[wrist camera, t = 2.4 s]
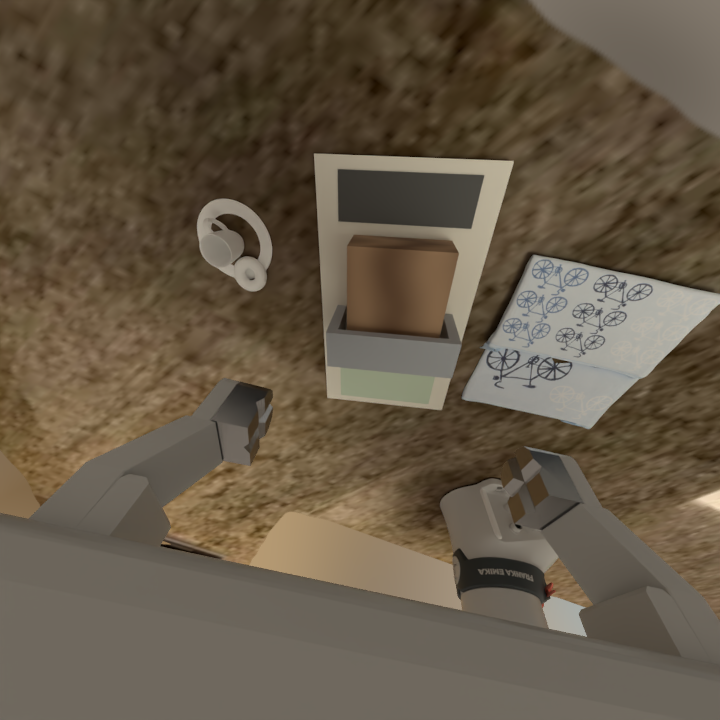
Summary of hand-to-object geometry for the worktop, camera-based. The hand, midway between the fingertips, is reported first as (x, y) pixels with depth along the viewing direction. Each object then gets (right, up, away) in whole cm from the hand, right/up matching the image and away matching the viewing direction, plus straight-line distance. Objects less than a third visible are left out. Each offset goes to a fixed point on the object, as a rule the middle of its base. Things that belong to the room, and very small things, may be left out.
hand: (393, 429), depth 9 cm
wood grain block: (+3, +9, +20) cm, 22 cm away
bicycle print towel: (+23, +3, +24) cm, 33 cm away
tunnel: (+3, +7, +23) cm, 25 cm away
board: (+3, +8, +23) cm, 24 cm away
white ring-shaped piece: (-16, +13, +22) cm, 31 cm away
